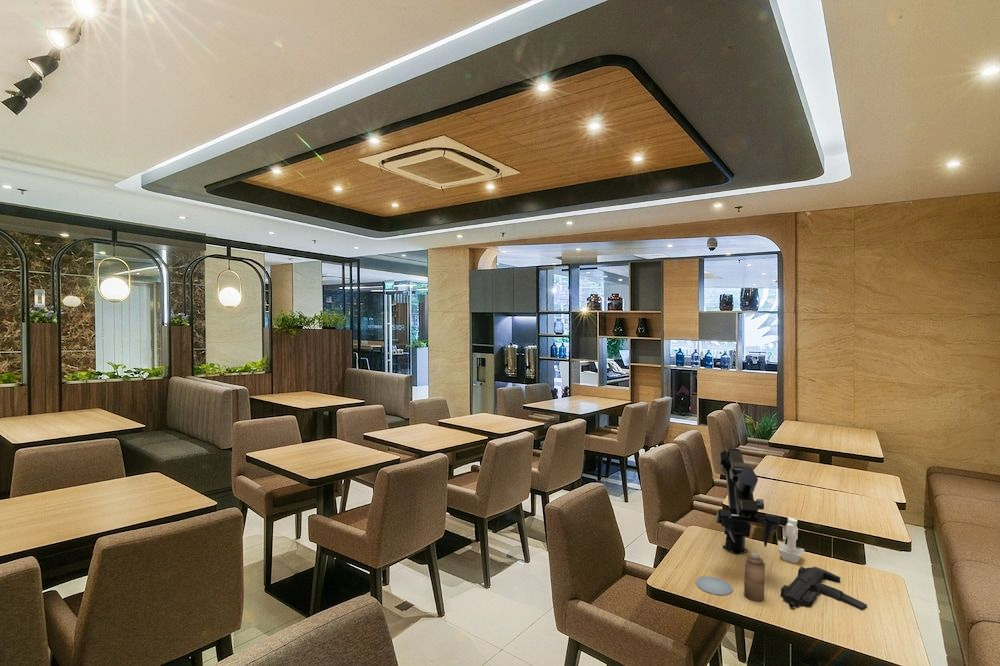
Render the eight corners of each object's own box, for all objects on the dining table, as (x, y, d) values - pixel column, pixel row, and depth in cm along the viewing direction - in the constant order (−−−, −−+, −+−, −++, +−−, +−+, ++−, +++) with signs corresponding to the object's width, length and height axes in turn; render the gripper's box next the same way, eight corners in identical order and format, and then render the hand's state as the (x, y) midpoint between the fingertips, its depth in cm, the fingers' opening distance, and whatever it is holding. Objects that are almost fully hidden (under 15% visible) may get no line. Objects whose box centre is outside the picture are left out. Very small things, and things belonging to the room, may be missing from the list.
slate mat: (712, 574, 171) (712, 573, 171) (740, 590, 161) (740, 589, 161) (688, 581, 166) (688, 580, 166) (715, 598, 156) (715, 597, 156)
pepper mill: (742, 590, 161) (743, 549, 161) (761, 593, 160) (763, 552, 159) (745, 600, 156) (747, 557, 156) (765, 603, 154) (767, 560, 154)
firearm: (852, 638, 140) (774, 603, 155) (873, 597, 161) (803, 570, 176) (853, 626, 140) (775, 593, 154) (875, 587, 161) (804, 561, 175)
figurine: (805, 558, 184) (806, 517, 184) (799, 567, 177) (801, 525, 177) (782, 552, 189) (784, 512, 189) (776, 560, 182) (778, 519, 182)
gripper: (718, 485, 172) (722, 530, 162) (779, 491, 167) (787, 538, 157) (714, 500, 180) (718, 544, 170) (772, 506, 175) (780, 552, 164)
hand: (750, 544), depth 165 cm, fingers open, 9 cm apart
